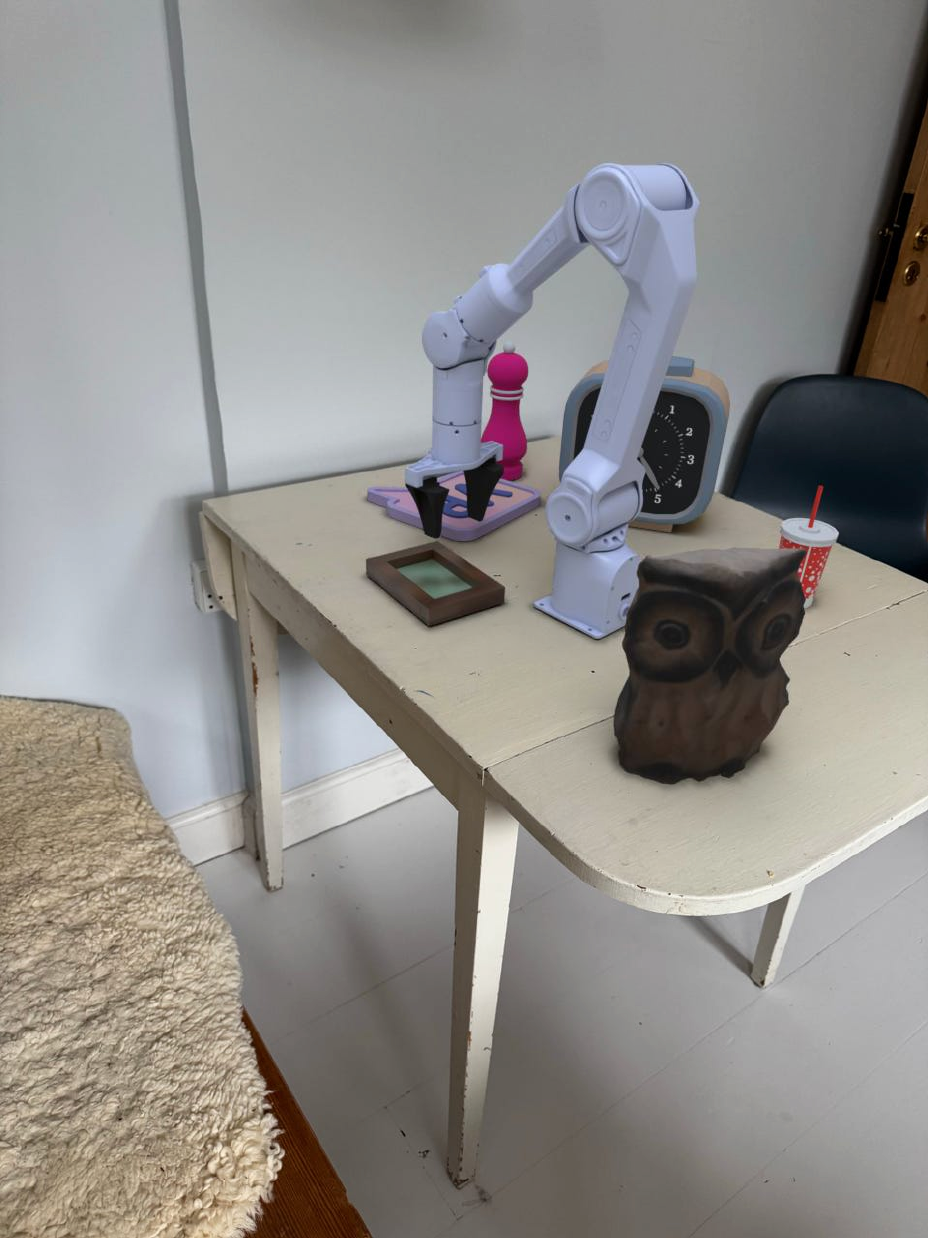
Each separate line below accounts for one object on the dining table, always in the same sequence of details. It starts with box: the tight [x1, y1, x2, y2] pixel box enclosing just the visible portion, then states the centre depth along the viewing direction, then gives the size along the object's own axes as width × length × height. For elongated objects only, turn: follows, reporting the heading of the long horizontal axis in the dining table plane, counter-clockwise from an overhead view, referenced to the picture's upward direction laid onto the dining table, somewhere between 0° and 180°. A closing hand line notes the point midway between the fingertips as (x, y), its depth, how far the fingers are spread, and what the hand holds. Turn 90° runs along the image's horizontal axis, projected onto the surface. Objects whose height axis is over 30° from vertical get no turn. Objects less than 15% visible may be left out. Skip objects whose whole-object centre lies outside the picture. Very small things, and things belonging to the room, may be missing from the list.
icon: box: [366, 471, 542, 542], centre depth 119 cm, size 19×2×20 cm
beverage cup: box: [778, 485, 840, 609], centre depth 94 cm, size 6×6×14 cm
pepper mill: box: [481, 341, 529, 482], centre depth 125 cm, size 7×7×20 cm
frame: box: [365, 540, 506, 627], centre depth 96 cm, size 14×10×2 cm
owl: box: [613, 546, 807, 785], centre depth 68 cm, size 13×13×20 cm
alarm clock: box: [558, 355, 731, 533], centre depth 112 cm, size 21×10×22 cm, turn 72°
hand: (454, 527), depth 104 cm, fingers open, 7 cm apart
